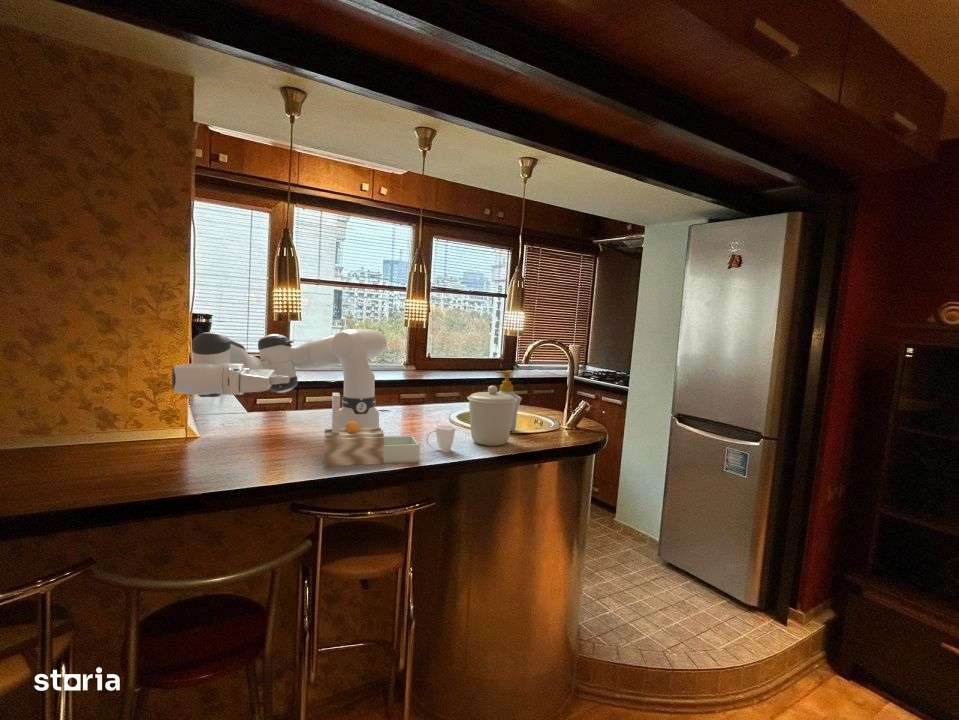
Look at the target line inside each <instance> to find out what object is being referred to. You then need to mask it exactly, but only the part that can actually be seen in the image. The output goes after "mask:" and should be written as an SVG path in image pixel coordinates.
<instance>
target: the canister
mask: <svg viewBox="0 0 959 720" xmlns="http://www.w3.org/2000/svg"><path fill="white" fill-rule="evenodd" d="M498 390H499V389H498V387H497V386H496V385H490V386H488V388H487V391H478V392H474V393H472V394H470V395H468V396H467V397H466V398H467V400H468V407H469V422H470V423H469V424H470V435H471V439H472V440H473V442H475V443H476V444H478V445H481V446H487V447H488V446H489V447H499V446H503V445H505V444H506V443H507V442H508V441H509V438H510V435H511V432H510V430H511V425H512V419H513V413H514V407H515V403H516V402H517V399H515V398H514V397H513V396H511V395H509V394H505V393H498V392H499V391H498Z"/></svg>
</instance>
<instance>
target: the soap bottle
mask: <svg viewBox="0 0 959 720" xmlns="http://www.w3.org/2000/svg"><path fill="white" fill-rule="evenodd" d="M496 373H497V374H502V375H504V376H503V377H504V380H502V382H501V384H500V385H499V391H497V392H498V393H505V394H509V395H511V396H513V397H514V398H515V399H517V402H516V403H515V407H514V413H513V419H512V425H511V430H510V431H512V432H514V431H515V430H516V428H517V418H518V417H517V415H518V411H519V407H520V403H521V401H522V400H523V399H522V397H521V396H519V395H518V394H516V393H515V392H514V385H512V381H510V380H509V379H510V378H511V373H513V370H511V369H510V370H503V371H501V370H497V371H496Z"/></svg>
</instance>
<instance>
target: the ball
mask: <svg viewBox="0 0 959 720" xmlns="http://www.w3.org/2000/svg"><path fill="white" fill-rule="evenodd" d="M358 430H359V424H358V423H357V422H355V421H350V422H348V423H347V425H346V431H347V432H348V433H349V434H355V433H357V432H358Z"/></svg>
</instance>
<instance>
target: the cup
mask: <svg viewBox="0 0 959 720" xmlns="http://www.w3.org/2000/svg"><path fill="white" fill-rule="evenodd" d="M456 428H457V427H456V426H455V425H451V424H439V425H436V427H435V429H432V430H430V431H428V432H427V435H426V444H427V445H428V446H429V447H430V448H431V449H433V450H434V451H437V452H441V453H448V452H449V453H450V452H452V445H453V442H454V438H455V432H456ZM433 432H434V433H436V442H437V443H436V444H437V445H438V449H437V448H434V447H433V446H431V445H430V444H429V441H428V440H429V435H430V434H431V433H433Z"/></svg>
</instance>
